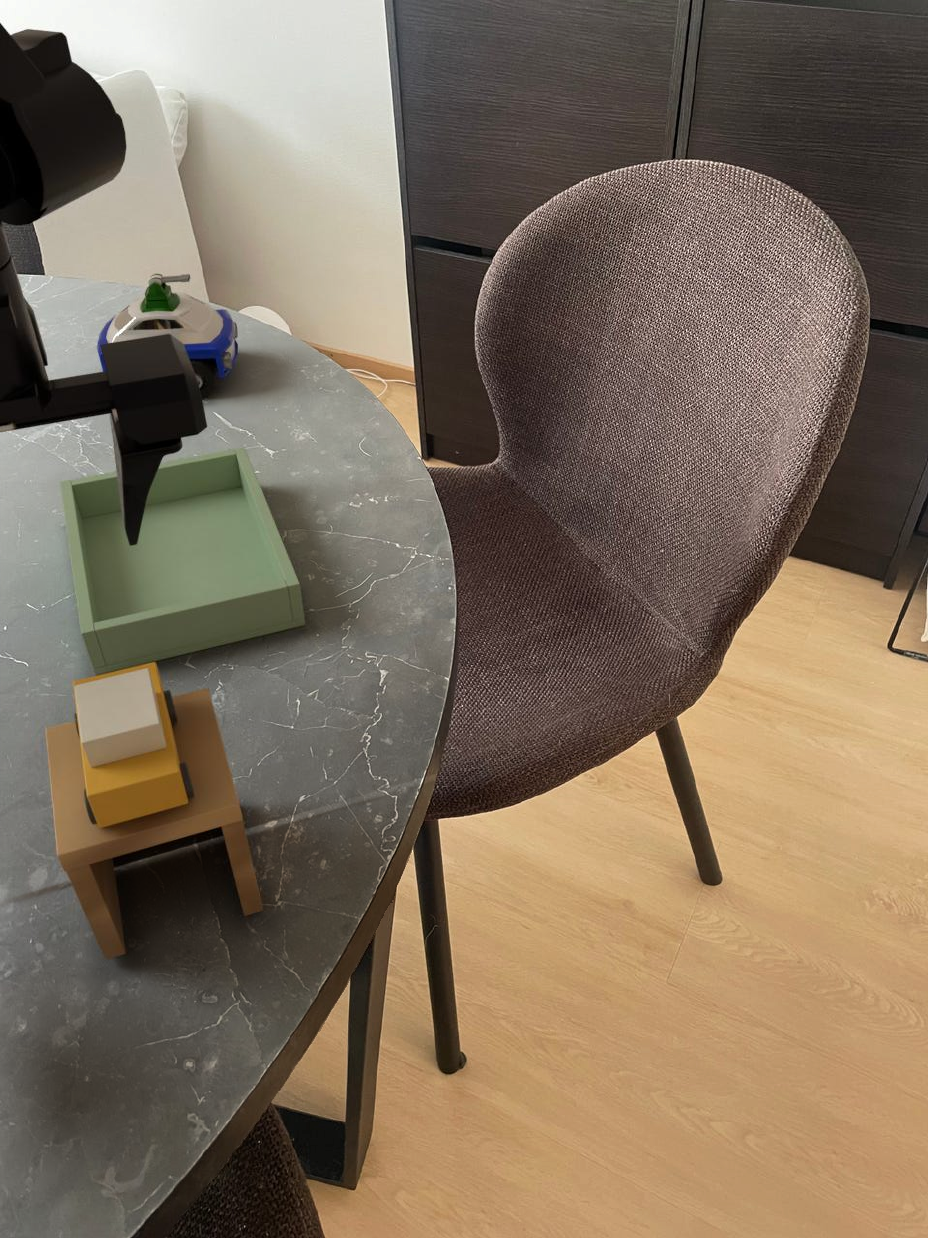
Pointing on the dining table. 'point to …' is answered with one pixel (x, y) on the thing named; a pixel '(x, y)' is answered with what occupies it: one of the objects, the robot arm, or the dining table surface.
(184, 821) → the oak stand
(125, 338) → the toy car
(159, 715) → the small car
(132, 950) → the dining table surface
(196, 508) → the green box
